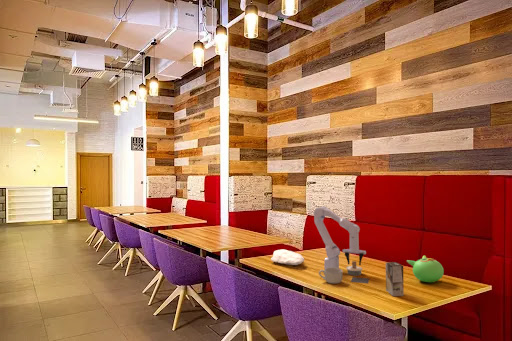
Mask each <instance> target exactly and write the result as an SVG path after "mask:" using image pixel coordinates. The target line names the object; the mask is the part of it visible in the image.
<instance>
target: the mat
mask: <svg viewBox="0 0 512 341" xmlns="http://www.w3.org/2000/svg"><path fill="white" fill-rule="evenodd" d="M369 281H370V278H367V277H357V276H353V277H352V278H351V279H350V283H357V284H358V283H361V284H369Z"/></svg>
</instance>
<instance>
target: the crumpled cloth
mask: <svg viewBox="0 0 512 341" xmlns="http://www.w3.org/2000/svg"><path fill="white" fill-rule="evenodd" d="M270 261H272V262H275V263H279V264H282V265H283V264H285V265H291V266H298V265H300V264H302V263H303V262H304V261H305V258H304V257H303V255H302V254H300V253H297V252H294V251H292V250H287V249H284V248H283V249H277V250H274V251H273V254H272V257H271V258H270Z"/></svg>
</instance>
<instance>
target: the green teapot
mask: <svg viewBox="0 0 512 341" xmlns="http://www.w3.org/2000/svg"><path fill="white" fill-rule="evenodd" d="M406 263H408V264H409V265H411V266H412V274H413V275H414V277H415V278H416V279H417V280H419V281H421V282H423V283H435V282H438V281H440V280H441V279H442V278H443V276H444V271H445V270H444V267H443V265H442V264H441V263H440V262H439V261H437V260H436V259H434V258H431V257H430V258H428V257H427V256H426V255H423V256H422V258H420V259H417V260H416V261H415V260H410V259H409V260H408V259H407V260H406Z"/></svg>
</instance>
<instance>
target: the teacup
mask: <svg viewBox="0 0 512 341" xmlns="http://www.w3.org/2000/svg"><path fill="white" fill-rule="evenodd" d="M321 273H323V275H324V276H323V275H322V274H321ZM318 275H319V276H320V277H321V278H322V279H323V280H325V281H326V283H328V284H332V285H337V284H340V283H342V281H343V269H341V268H340V267H339V268H326V269H325V270H323V269H320V270H318Z"/></svg>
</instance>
